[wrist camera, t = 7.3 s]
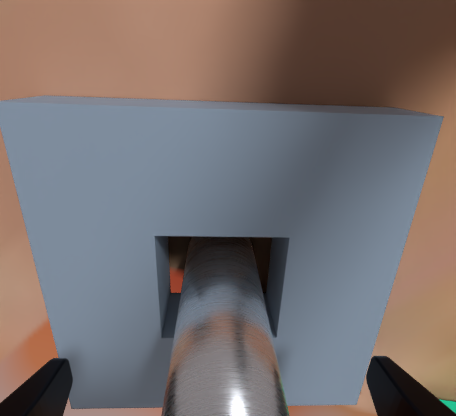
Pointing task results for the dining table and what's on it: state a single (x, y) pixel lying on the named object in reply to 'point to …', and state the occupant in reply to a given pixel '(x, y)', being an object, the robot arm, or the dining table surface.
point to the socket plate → (214, 227)
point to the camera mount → (450, 405)
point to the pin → (223, 337)
